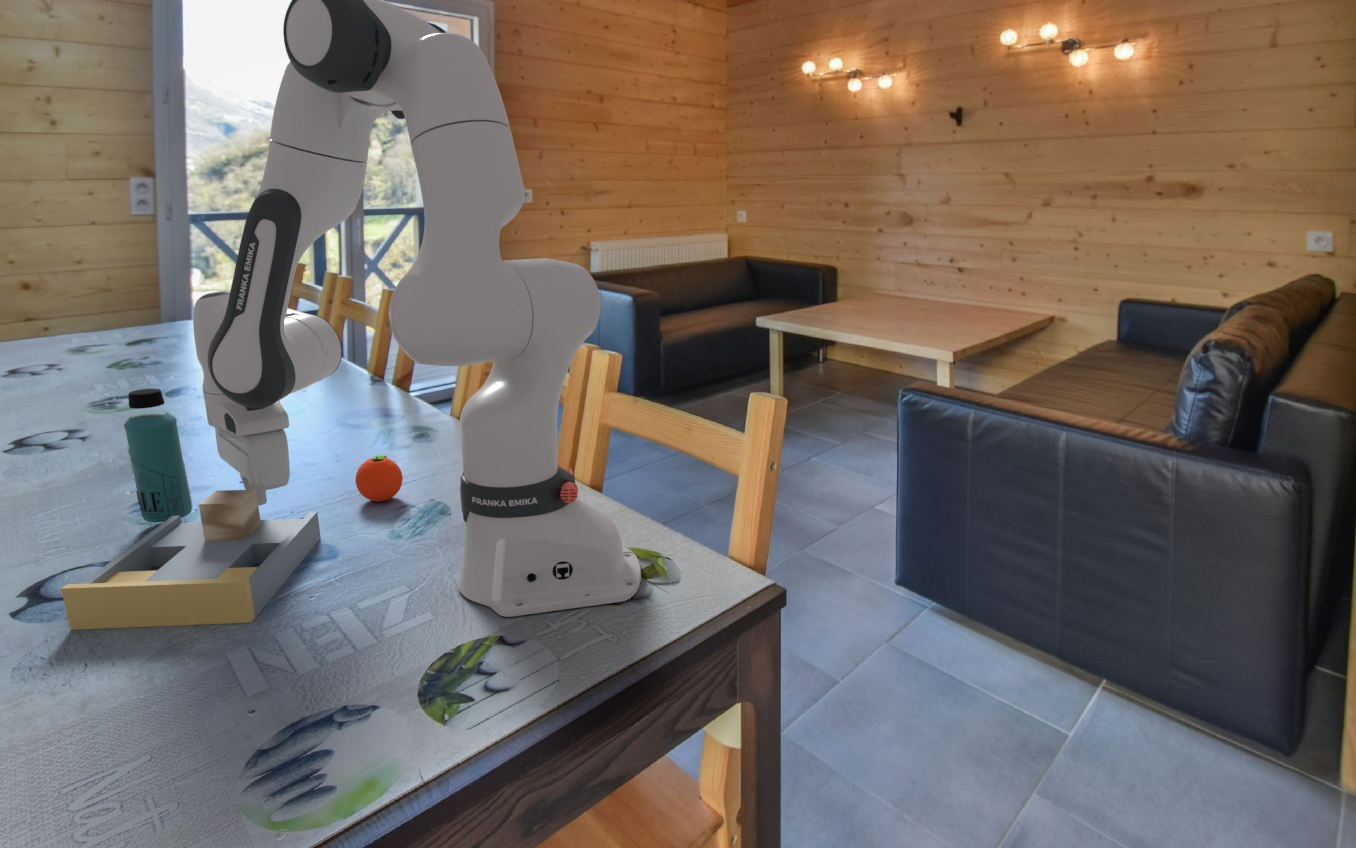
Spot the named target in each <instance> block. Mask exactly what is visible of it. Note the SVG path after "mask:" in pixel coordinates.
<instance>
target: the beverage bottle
mask: <svg viewBox="0 0 1356 848" xmlns="http://www.w3.org/2000/svg"><path fill="white" fill-rule="evenodd" d="M162 405H165V399H164V396H163V393H162V390H161V389H160V388H142V389H135V390H132V391H129V392H128V406H129V408H130V409H148V408H149V409H151V408H155V407H159V406H162ZM123 427H124V431H125V434H126V440H127V446H126V449H127V452H128V456H129V462H130V465H131V468H132V471H133V480H134V483H135V492H136V497H137V504H138V506H139V507H138V508H139V512H140V517H142V518H143V520H144V521H145V522H149V523H163V522H165V521H166V520H168V519H169V518H170V517H172V516H180V518H181V519H182V518H185V517H186V516H189V514H190V513H191V512H192V510H193V509H192V507H193V506H194V505H193V500H192V494H191V493H192V492H191V490H190V489H191V488H190V486H189V480H188V478H189V477H188V475H187V473H188V471H187V469H186V464H185V462H184V458H183V453H182V446H181V442H180V441H181V440H180V435H179V430H178V425H177V418H176V417H175V416H174V415H172V414H171V413H169V412H167V411H165V410H159V409H158V410H147V411H141V412H138V413H137V412H136V413H134V414H131V416H130V417H128V419H127V420H126V421H125V422H124V424H123Z"/></svg>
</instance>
